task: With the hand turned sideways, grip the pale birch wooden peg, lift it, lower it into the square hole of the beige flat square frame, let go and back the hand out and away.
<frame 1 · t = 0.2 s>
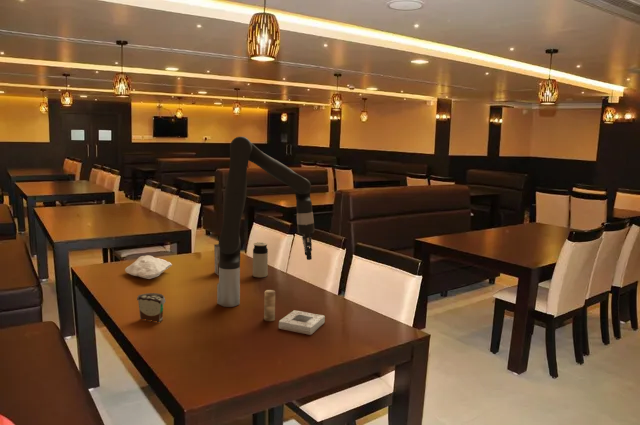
hand: (308, 257, 216), 22 cm above the table, tool pointing down, fingers open, 8 cm apart
peg: (269, 319, 199), on the table
food container: (154, 319, 196), on the table
crumpled cloth: (150, 275, 256), on the table
travel mug: (260, 276, 261), on the table
beige flat square frame: (302, 325, 194), on the table
coffee box: (224, 273, 264), on the table
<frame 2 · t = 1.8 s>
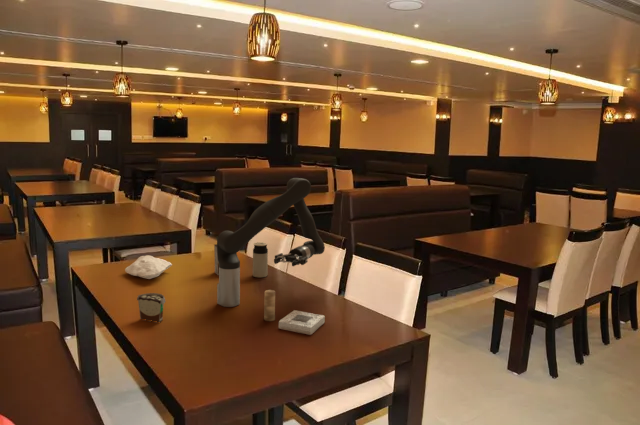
hand: (283, 262, 207), 21 cm above the table, tool horizontal, fingers open, 8 cm apart
nothing on the table moved.
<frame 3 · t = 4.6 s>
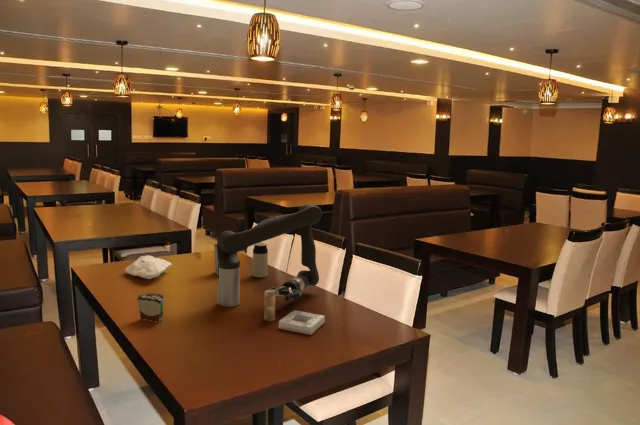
hand: (277, 297, 204), 8 cm above the table, tool horizontal, fingers open, 8 cm apart
nothing on the table moved.
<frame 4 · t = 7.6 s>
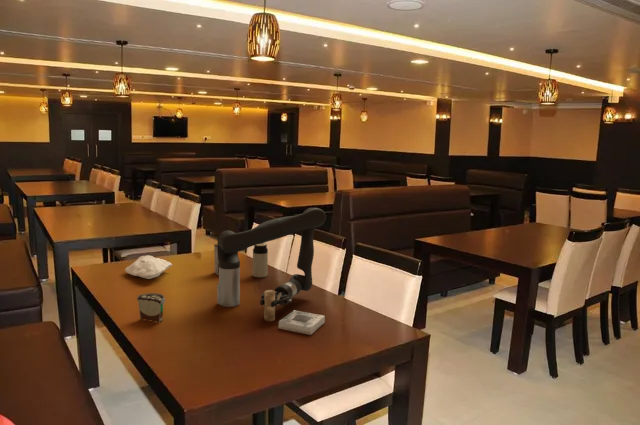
hand: (266, 303, 196), 8 cm above the table, tool horizontal, fingers closed on peg, 4 cm apart
peg: (269, 319, 199), on the table, touching gripper
everything else where it was.
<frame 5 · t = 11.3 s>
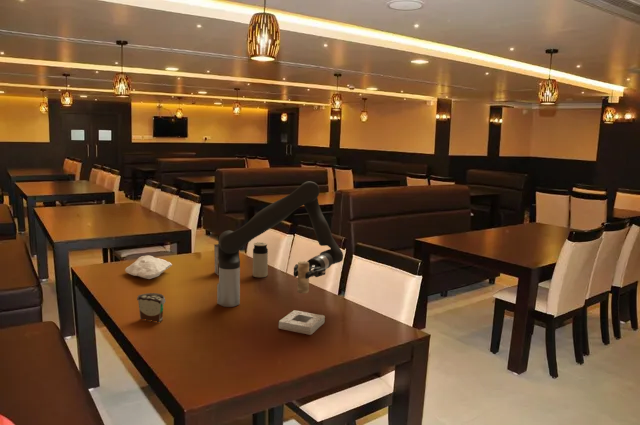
hand: (300, 275, 188), 22 cm above the table, tool horizontal, fingers closed on peg, 4 cm apart
peg: (303, 291, 191), point 14 cm above the table, touching gripper
everything else where it was.
when the fingers open (8 cm above the table, at t = 15.2 s): peg stays where it is, resting in beige flat square frame.
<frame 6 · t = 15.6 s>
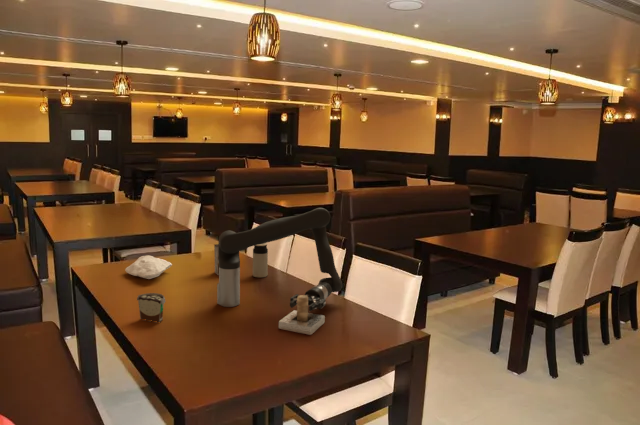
hand: (300, 307, 190), 9 cm above the table, tool horizontal, fingers open, 8 cm apart
peg: (302, 325, 194), resting in beige flat square frame
everything else where it was.
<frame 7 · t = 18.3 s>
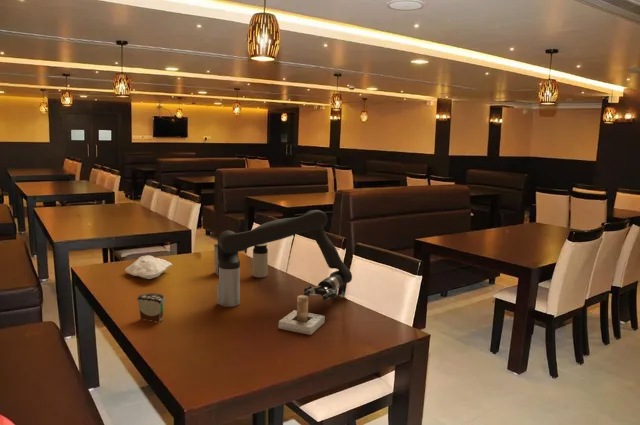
hand: (314, 296, 203), 9 cm above the table, tool horizontal, fingers open, 8 cm apart
nothing on the table moved.
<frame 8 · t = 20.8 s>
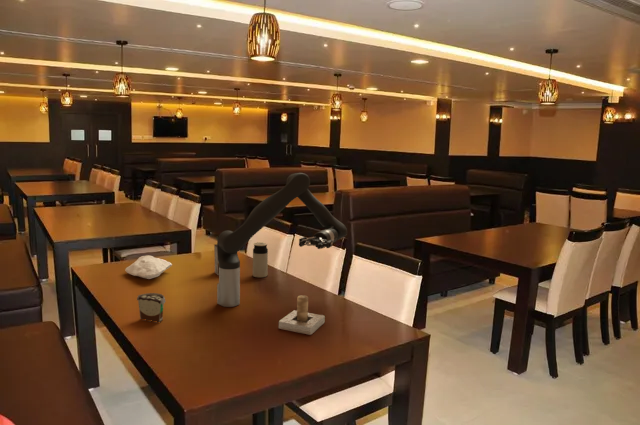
hand: (309, 245, 203), 30 cm above the table, tool horizontal, fingers open, 8 cm apart
nothing on the table moved.
at the end: peg 0.1 cm off-centre on the beige flat square frame, point 0.0 cm above the beige flat square frame's base; peg tilted 0°; the gripper is holding nothing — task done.
